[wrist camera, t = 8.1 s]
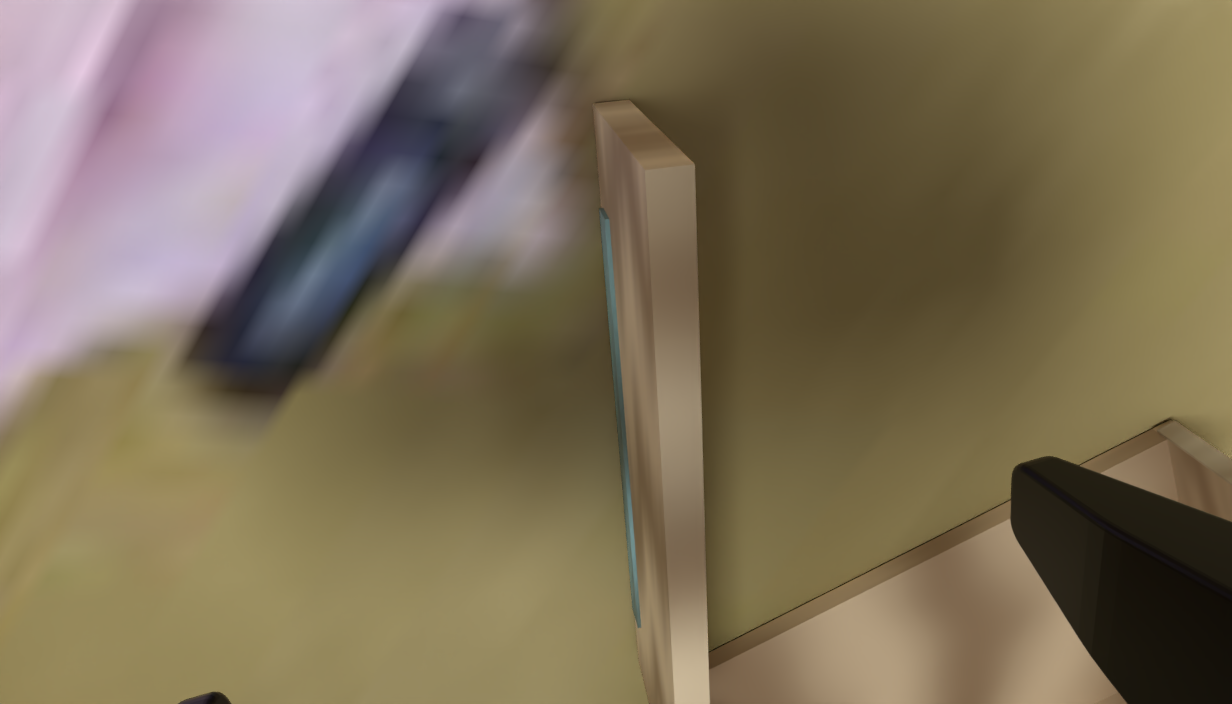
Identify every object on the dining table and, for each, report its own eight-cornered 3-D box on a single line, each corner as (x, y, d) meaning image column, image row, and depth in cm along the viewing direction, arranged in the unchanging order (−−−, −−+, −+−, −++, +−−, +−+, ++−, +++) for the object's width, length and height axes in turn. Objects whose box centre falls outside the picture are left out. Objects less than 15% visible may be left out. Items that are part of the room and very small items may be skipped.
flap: (663, 655, 26) (713, 827, 21) (635, 660, 26) (677, 835, 21) (628, 99, 18) (694, 164, 13) (587, 103, 18) (638, 170, 13)
